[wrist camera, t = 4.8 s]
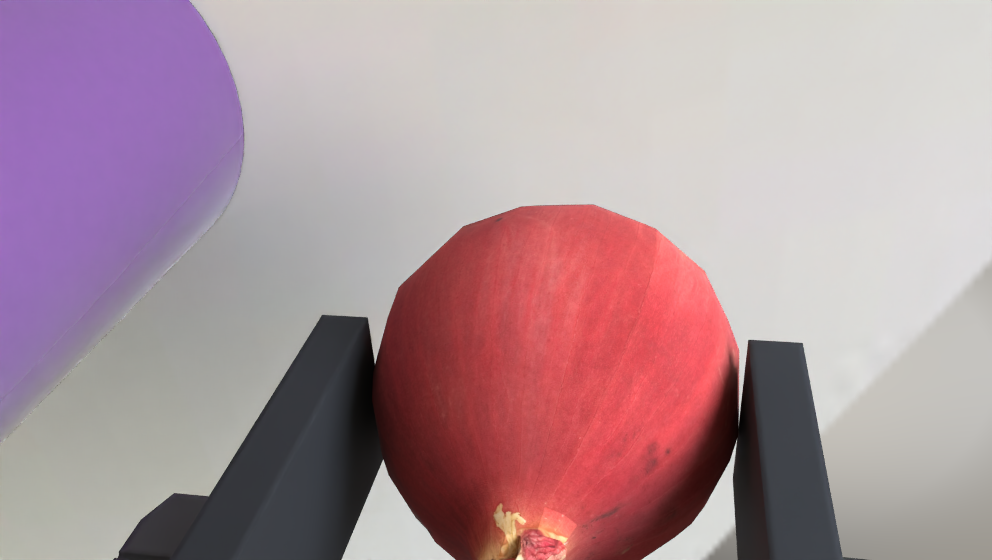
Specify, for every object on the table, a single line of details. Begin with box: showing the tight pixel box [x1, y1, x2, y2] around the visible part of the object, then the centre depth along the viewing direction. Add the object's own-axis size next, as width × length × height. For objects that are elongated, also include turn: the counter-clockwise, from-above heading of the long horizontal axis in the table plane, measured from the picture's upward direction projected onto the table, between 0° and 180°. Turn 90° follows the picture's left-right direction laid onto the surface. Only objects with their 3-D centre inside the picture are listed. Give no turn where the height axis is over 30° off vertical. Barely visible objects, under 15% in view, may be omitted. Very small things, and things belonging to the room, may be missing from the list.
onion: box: [372, 205, 739, 560], centre depth 14 cm, size 6×6×8 cm
